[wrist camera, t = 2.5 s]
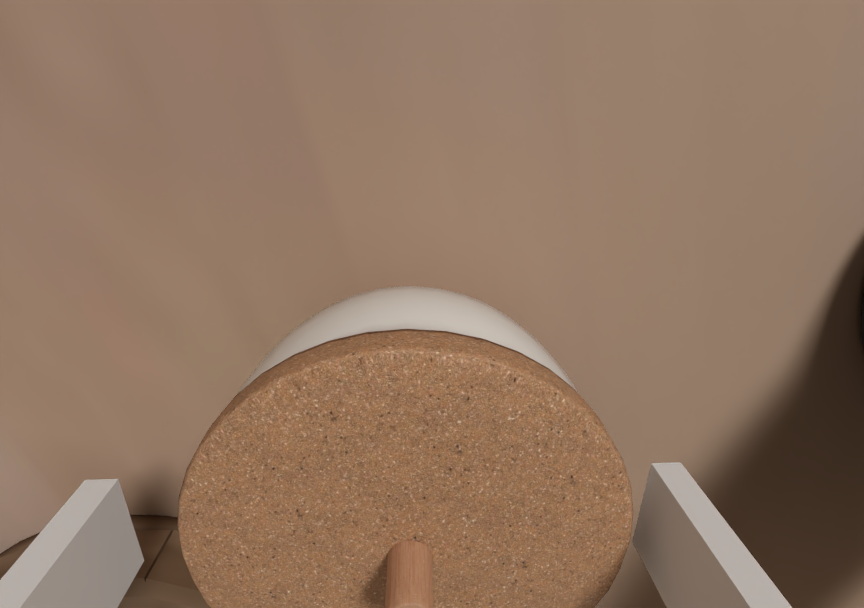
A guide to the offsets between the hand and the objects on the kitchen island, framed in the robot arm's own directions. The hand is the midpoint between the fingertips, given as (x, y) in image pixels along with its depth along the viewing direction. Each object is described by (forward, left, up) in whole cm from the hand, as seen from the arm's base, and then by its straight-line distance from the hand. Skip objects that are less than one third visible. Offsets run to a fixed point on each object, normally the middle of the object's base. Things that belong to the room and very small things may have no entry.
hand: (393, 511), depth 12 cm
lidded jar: (0, 0, -7) cm, 7 cm away
